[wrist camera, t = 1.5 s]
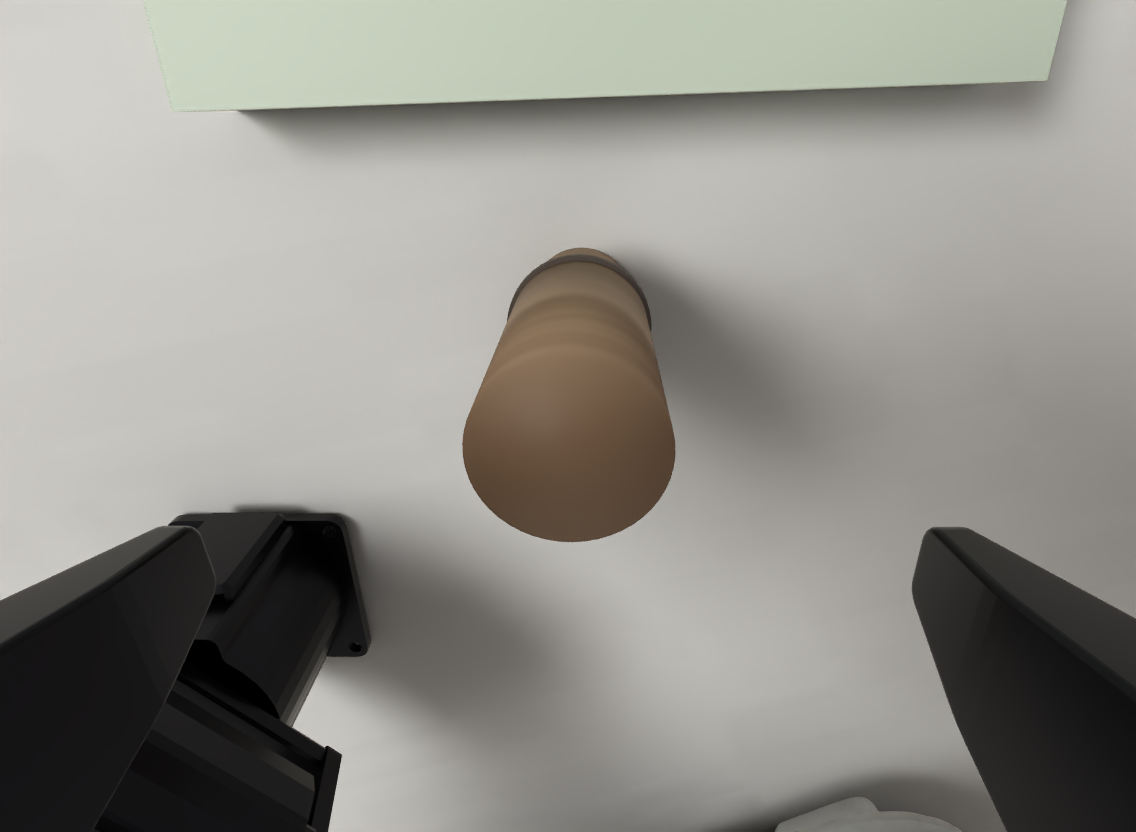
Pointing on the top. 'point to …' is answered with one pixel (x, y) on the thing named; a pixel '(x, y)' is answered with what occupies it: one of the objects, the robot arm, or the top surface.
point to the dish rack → (862, 819)
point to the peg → (572, 406)
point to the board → (582, 48)
